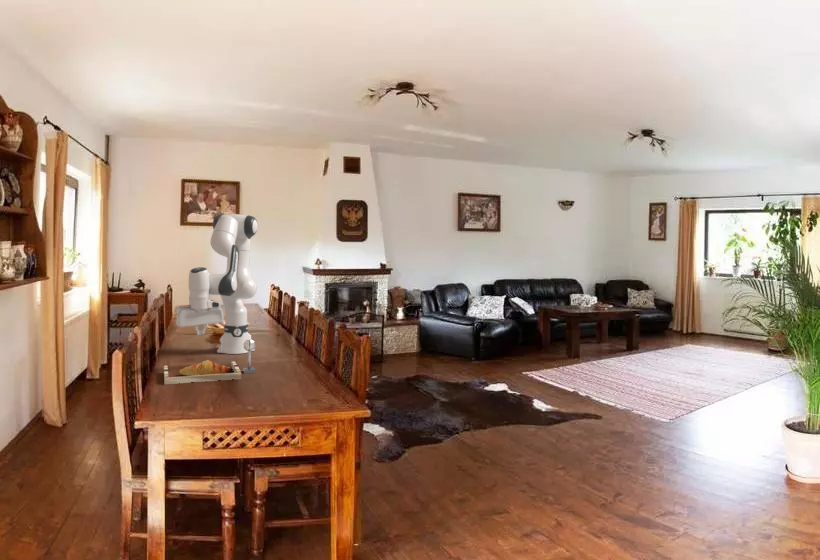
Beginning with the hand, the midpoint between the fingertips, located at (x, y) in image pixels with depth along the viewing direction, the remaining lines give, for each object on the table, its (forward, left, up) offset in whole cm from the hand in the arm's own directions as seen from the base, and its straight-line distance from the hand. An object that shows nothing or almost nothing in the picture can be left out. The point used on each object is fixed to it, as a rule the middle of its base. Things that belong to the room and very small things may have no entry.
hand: (200, 334), depth 260 cm
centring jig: (+11, 0, -16) cm, 19 cm away
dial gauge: (+11, +20, -16) cm, 28 cm away
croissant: (+11, +1, -16) cm, 19 cm away
